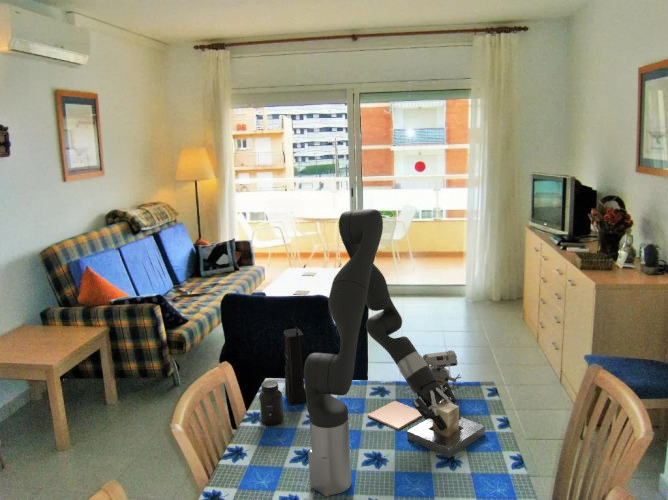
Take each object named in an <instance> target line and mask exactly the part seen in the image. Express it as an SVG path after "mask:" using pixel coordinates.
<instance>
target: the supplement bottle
mask: <svg viewBox="0 0 668 500" xmlns="http://www.w3.org/2000/svg"><path fill="white" fill-rule="evenodd" d="M260 387H261V388H260V389H261V390H260V393H259V395H258V402H259V403H258V404H259V415H260V416H259V417H260V423H261V424H262V425H263V426H264V427H269V428H271V427H276V426H279V425H281V424H283V422H284V420H285V415H284V404H283V403H284V402H283V401H284V399H283V393H282V391H281V390H279V384H278V381H276V380H265V381H263V382H262V383H261V386H260Z"/></svg>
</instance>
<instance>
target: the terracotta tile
mask: <svg viewBox="0 0 668 500" xmlns="http://www.w3.org/2000/svg"><path fill="white" fill-rule="evenodd" d="M367 417H368V418H370V419H373V420H374V421H377V422H379V423H381V424H384V425H386V426H388V427H390V428H393V429H395V430H397V431H400V430H401V429H403V428H405V427H406V426H408V425H410V424H411V423H414V422H415V421H417V420H419V419H420V418H423V416H422V415H421V414H420V413H419V411H418V410H417V409H416V408H415V407H412V406H409V405H407V404H404V403H401V402H399V401H397V400H393V401H391V402H389V403H387V404H386V405H383V406H382V407H380V408H378V409H376V410H374V411H372V412H370V413H367Z"/></svg>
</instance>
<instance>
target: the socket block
mask: <svg viewBox="0 0 668 500" xmlns="http://www.w3.org/2000/svg"><path fill="white" fill-rule="evenodd" d="M460 418H461V419H460V420H459V432H457V433H456V434H454V435H452V436H451V437H449V438H448V437H446V436H443V435H441V434H439V433H436V432H434V431H433V420H432V419H427V420H426V419H424V421H422V422H420V423H417V424H416V425H415V426H413V427H411V428H410V429H408V430H407V431H406V432H407V436H406V437H407V440H409V441H410V442H413V443H415V444H417V445H419V446H422V447H424V448H426V449H428V450H430V451H433V452H435V453H437V454H439V455H442V456H444V457H446V458H448V459H450V458H452V457H453V456H455V455H456V454H458V453H460V452H461V451H462V450H464V449H465V448H467V447H469V446H470V445H471V444H473V443H474V442H475V441H477V440H479V439H480V438H481V437H483V436H484V435H485V434H486V432H485V429H486V427H485V425H483V424H481V423H478V422H475V421H472V420H470V419H467V418H464V417H462V416H460Z"/></svg>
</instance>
